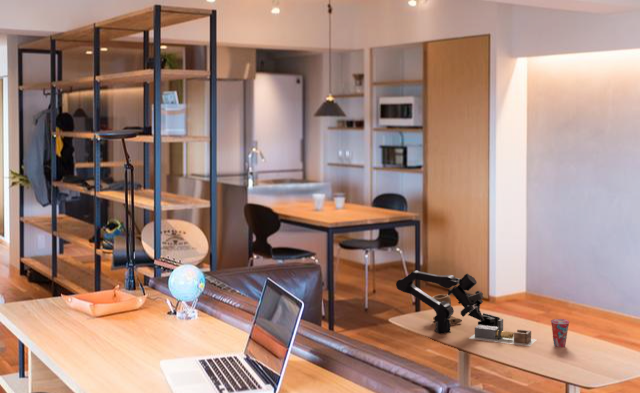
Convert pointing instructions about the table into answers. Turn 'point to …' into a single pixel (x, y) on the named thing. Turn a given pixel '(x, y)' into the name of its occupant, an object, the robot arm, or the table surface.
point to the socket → (522, 336)
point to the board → (504, 340)
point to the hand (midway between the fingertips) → (483, 320)
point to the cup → (559, 331)
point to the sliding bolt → (501, 333)
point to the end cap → (489, 320)
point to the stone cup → (447, 298)
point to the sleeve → (486, 332)
